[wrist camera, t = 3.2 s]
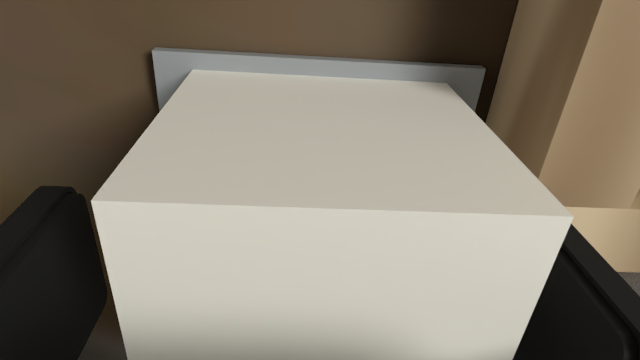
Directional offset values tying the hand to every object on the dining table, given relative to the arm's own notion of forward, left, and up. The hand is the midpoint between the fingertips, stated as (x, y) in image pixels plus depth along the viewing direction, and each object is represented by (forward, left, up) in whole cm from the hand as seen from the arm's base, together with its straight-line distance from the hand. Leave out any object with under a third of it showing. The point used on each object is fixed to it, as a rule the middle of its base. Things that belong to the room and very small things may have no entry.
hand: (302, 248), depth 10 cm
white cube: (0, 0, -3) cm, 3 cm away
